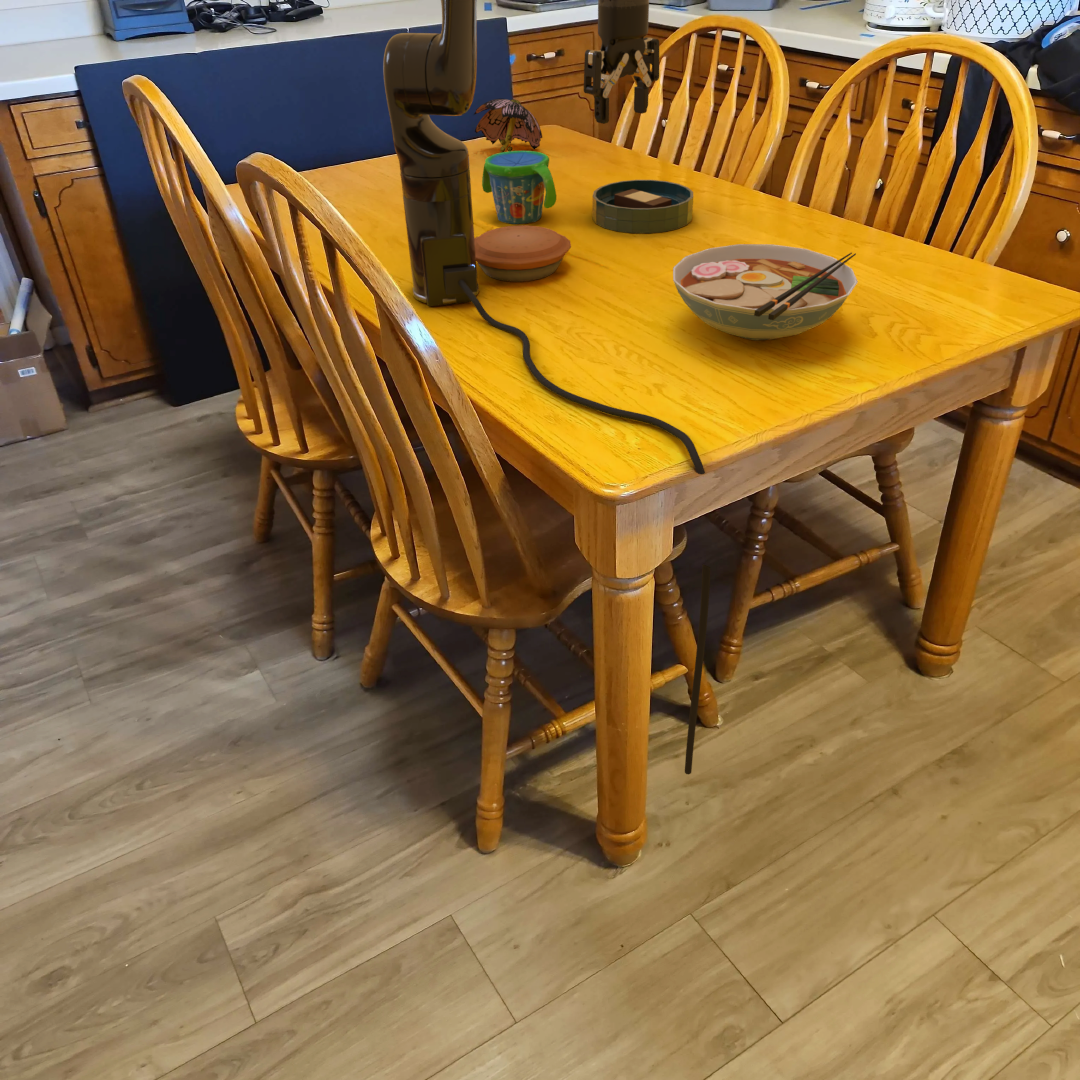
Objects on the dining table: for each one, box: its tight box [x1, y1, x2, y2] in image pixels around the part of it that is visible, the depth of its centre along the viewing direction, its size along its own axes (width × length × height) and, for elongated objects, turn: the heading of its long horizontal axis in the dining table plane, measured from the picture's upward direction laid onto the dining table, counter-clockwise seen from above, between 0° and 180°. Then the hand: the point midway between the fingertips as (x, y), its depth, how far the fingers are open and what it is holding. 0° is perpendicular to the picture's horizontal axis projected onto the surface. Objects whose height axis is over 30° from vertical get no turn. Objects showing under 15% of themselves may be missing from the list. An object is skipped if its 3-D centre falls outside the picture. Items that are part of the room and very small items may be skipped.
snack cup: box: [481, 150, 557, 225], centre depth 159 cm, size 16×10×10 cm
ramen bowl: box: [672, 243, 858, 341], centre depth 121 cm, size 25×23×8 cm
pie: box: [474, 225, 572, 283], centre depth 142 cm, size 15×16×5 cm
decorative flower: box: [473, 98, 544, 153], centre depth 196 cm, size 15×12×15 cm
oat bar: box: [614, 189, 672, 208], centre depth 159 cm, size 9×4×4 cm, turn 41°
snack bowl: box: [591, 179, 694, 234], centre depth 159 cm, size 17×17×4 cm
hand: (621, 117), depth 149 cm, fingers open, 8 cm apart
